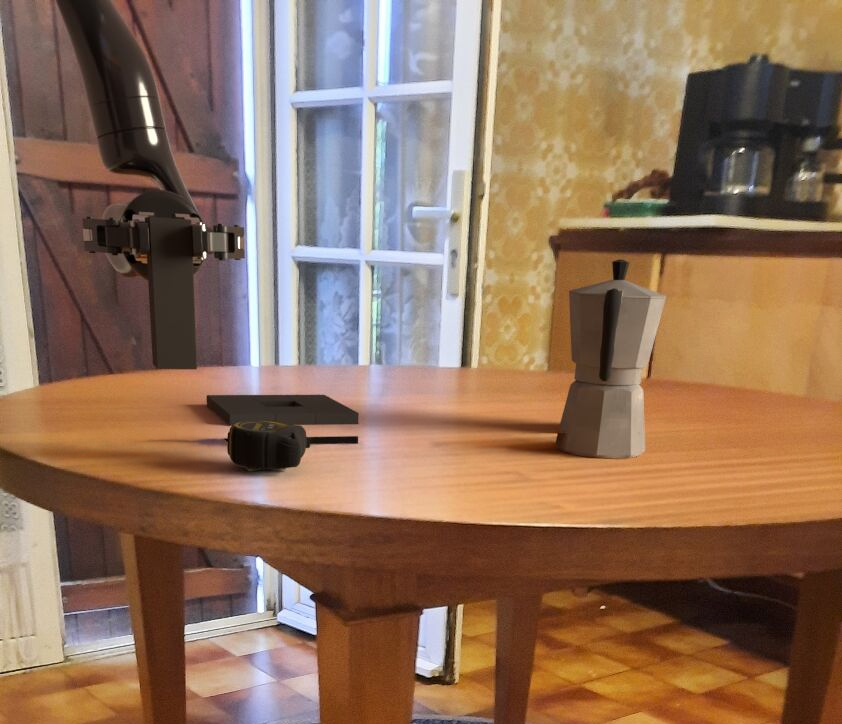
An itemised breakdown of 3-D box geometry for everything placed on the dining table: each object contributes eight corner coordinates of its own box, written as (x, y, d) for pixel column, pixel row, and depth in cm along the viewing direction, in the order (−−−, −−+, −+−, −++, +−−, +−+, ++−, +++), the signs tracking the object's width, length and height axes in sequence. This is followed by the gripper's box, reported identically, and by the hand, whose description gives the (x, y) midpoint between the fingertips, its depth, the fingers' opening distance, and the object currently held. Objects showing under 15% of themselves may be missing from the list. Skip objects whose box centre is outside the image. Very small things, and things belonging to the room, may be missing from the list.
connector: (157, 368, 86) (149, 217, 82) (152, 364, 89) (144, 217, 84) (197, 369, 87) (191, 219, 83) (191, 365, 90) (185, 219, 85)
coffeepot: (560, 436, 117) (577, 256, 109) (647, 443, 116) (671, 261, 108) (544, 461, 104) (563, 257, 96) (643, 469, 102) (670, 262, 94)
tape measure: (300, 479, 91) (300, 434, 90) (220, 475, 92) (219, 429, 90) (310, 464, 98) (310, 421, 96) (236, 460, 98) (234, 417, 96)
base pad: (230, 445, 104) (229, 414, 103) (207, 424, 115) (206, 395, 114) (358, 443, 108) (358, 412, 107) (324, 422, 119) (324, 394, 118)
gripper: (75, 186, 93) (70, 178, 78) (238, 196, 97) (263, 190, 82) (83, 279, 96) (79, 289, 81) (240, 286, 100) (264, 297, 85)
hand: (171, 240), depth 82 cm, fingers closed on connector, 3 cm apart
